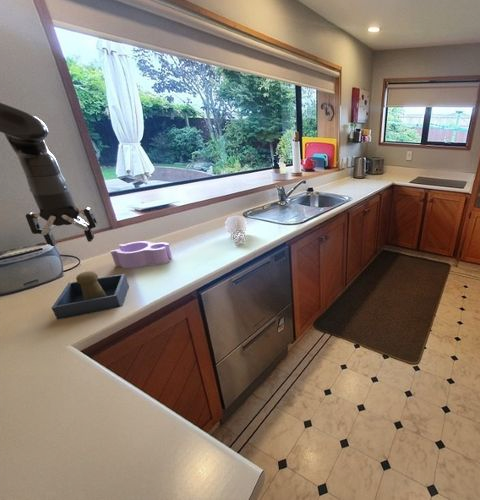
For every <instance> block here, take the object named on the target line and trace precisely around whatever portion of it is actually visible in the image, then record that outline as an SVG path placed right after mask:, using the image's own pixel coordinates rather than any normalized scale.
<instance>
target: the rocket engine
mask: <svg viewBox="0 0 480 500" xmlns="http://www.w3.org/2000/svg"><path fill="white" fill-rule="evenodd" d="M224 227H225V229H226V231H227V232H228V234H229V235H230V236H231V240H232V241H233V242H234V244H235V246H236V247H239V246H240V244H242V245H245V239H246V238H245V234H246V233H247V229H248V221H247V219H246V218H245V217H244V216H243V215H242V216H241V215H238V214H237V215H236V214H235V215H231V216H229V217H227V219H226V220H225V222H224Z"/></svg>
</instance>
